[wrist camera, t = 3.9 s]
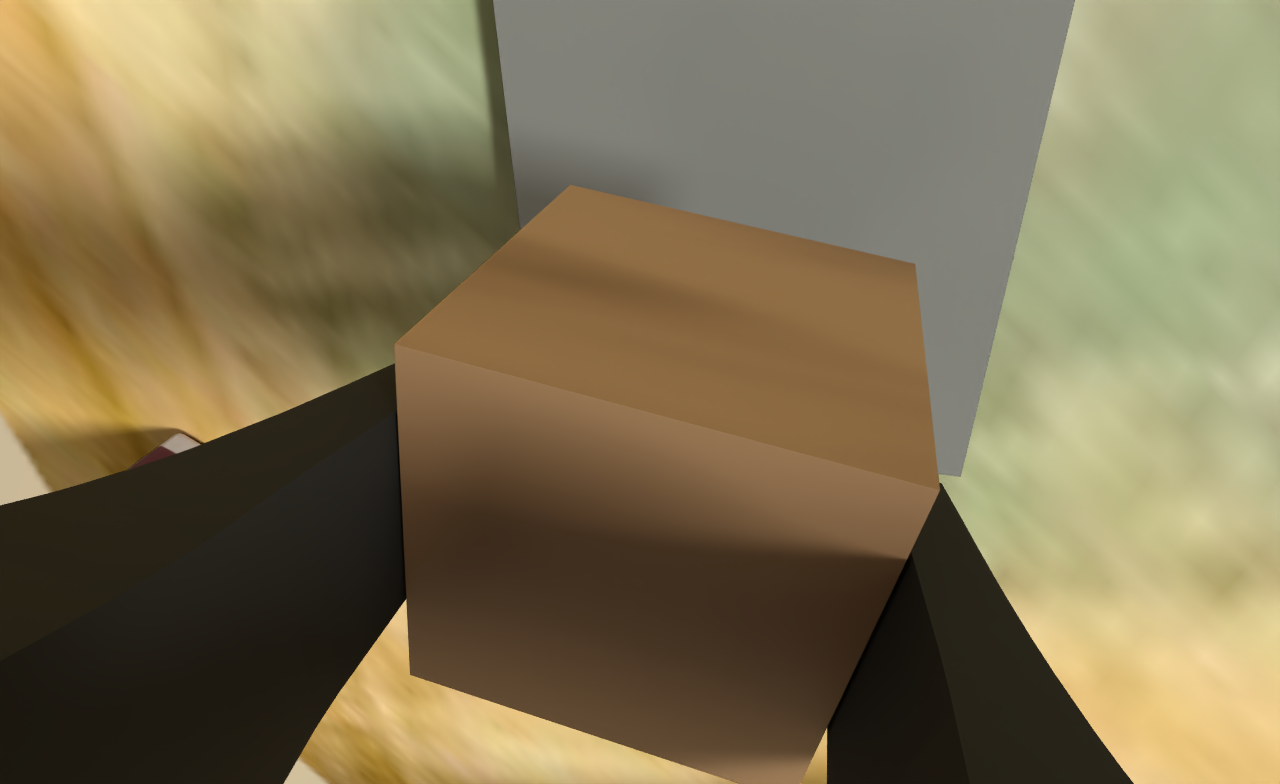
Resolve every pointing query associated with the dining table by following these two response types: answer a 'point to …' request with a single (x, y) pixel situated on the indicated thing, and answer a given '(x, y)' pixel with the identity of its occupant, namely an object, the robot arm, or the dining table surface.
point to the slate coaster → (806, 135)
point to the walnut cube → (663, 478)
